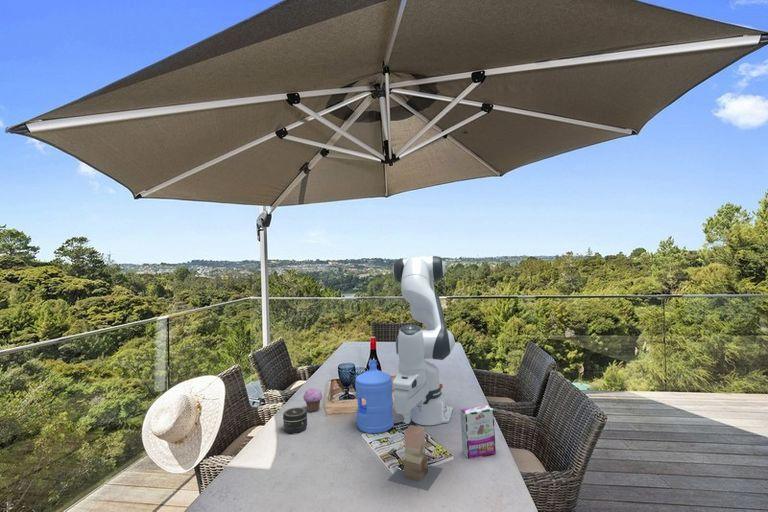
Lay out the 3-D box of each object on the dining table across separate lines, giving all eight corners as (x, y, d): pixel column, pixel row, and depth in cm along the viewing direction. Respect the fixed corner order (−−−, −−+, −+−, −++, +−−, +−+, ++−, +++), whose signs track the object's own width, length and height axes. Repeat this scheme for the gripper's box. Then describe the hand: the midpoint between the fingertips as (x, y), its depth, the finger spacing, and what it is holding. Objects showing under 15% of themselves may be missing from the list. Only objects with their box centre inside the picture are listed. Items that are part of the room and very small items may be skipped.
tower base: (411, 467, 141) (410, 453, 141) (427, 471, 138) (427, 456, 138) (404, 476, 136) (403, 461, 136) (420, 480, 133) (420, 465, 133)
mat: (405, 460, 147) (405, 459, 147) (443, 469, 140) (443, 468, 140) (387, 481, 134) (387, 480, 134) (427, 491, 128) (427, 490, 128)
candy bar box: (489, 448, 153) (487, 404, 153) (496, 454, 149) (494, 409, 148) (461, 453, 150) (459, 408, 150) (467, 459, 146) (466, 413, 145)
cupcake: (302, 408, 199) (301, 388, 199) (319, 405, 203) (318, 384, 202) (306, 415, 191) (305, 393, 191) (325, 411, 195) (324, 390, 194)
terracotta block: (411, 439, 140) (410, 424, 140) (424, 442, 138) (424, 427, 138) (404, 446, 136) (404, 431, 136) (419, 449, 134) (418, 433, 133)
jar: (294, 436, 169) (293, 418, 169) (278, 431, 175) (277, 413, 175) (312, 427, 177) (311, 410, 177) (296, 422, 183) (295, 405, 183)
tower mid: (411, 454, 140) (411, 439, 140) (425, 457, 138) (424, 442, 138) (405, 461, 136) (404, 446, 136) (419, 464, 134) (418, 449, 134)
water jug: (395, 418, 183) (392, 355, 183) (392, 434, 168) (389, 365, 167) (360, 418, 185) (357, 356, 184) (354, 434, 169) (351, 366, 169)
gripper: (416, 365, 147) (417, 403, 148) (389, 384, 129) (391, 427, 130) (432, 367, 144) (434, 406, 145) (408, 387, 126) (409, 431, 127)
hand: (413, 416), depth 137 cm, fingers open, 8 cm apart
